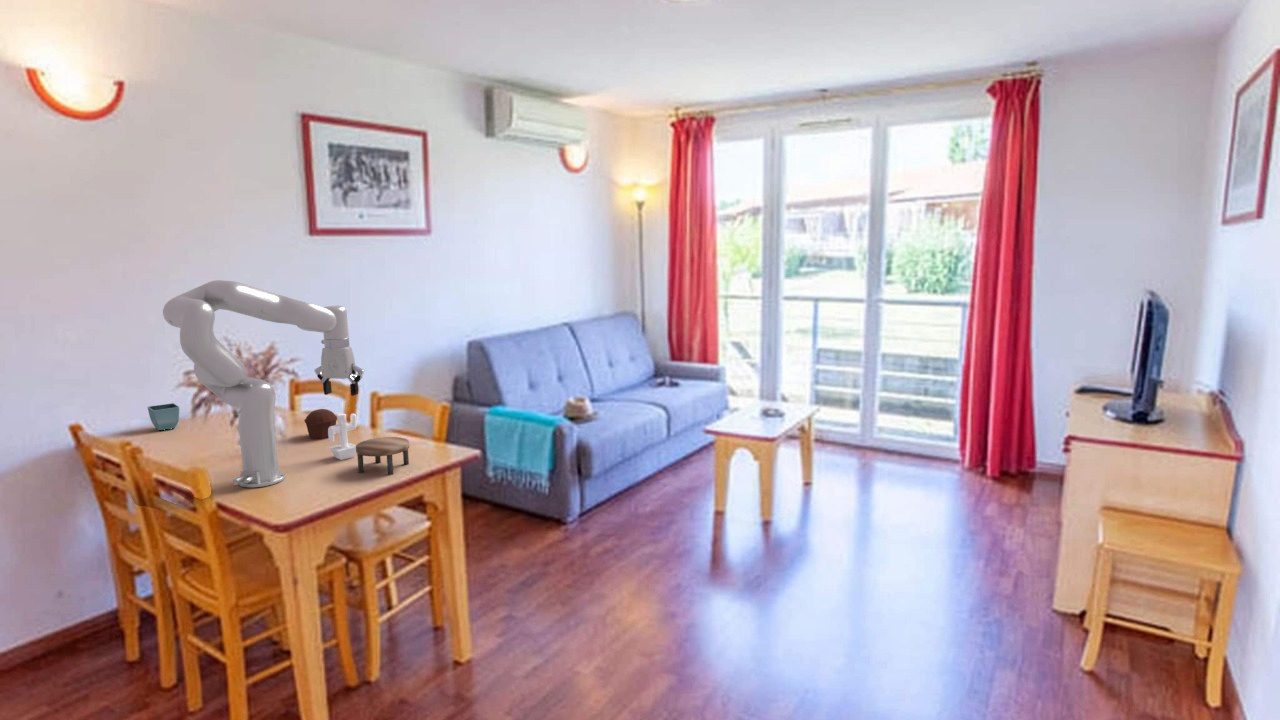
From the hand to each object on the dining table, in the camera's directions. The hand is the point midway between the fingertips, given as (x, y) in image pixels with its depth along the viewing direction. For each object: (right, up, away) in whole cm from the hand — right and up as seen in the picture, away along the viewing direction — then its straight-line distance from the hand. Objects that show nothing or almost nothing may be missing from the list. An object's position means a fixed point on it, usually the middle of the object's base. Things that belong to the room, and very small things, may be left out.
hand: (341, 394), depth 233 cm
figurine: (0, -22, +3) cm, 22 cm away
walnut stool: (+17, -23, -8) cm, 30 cm away
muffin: (-19, -17, +28) cm, 38 cm away
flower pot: (-84, -16, +37) cm, 93 cm away
